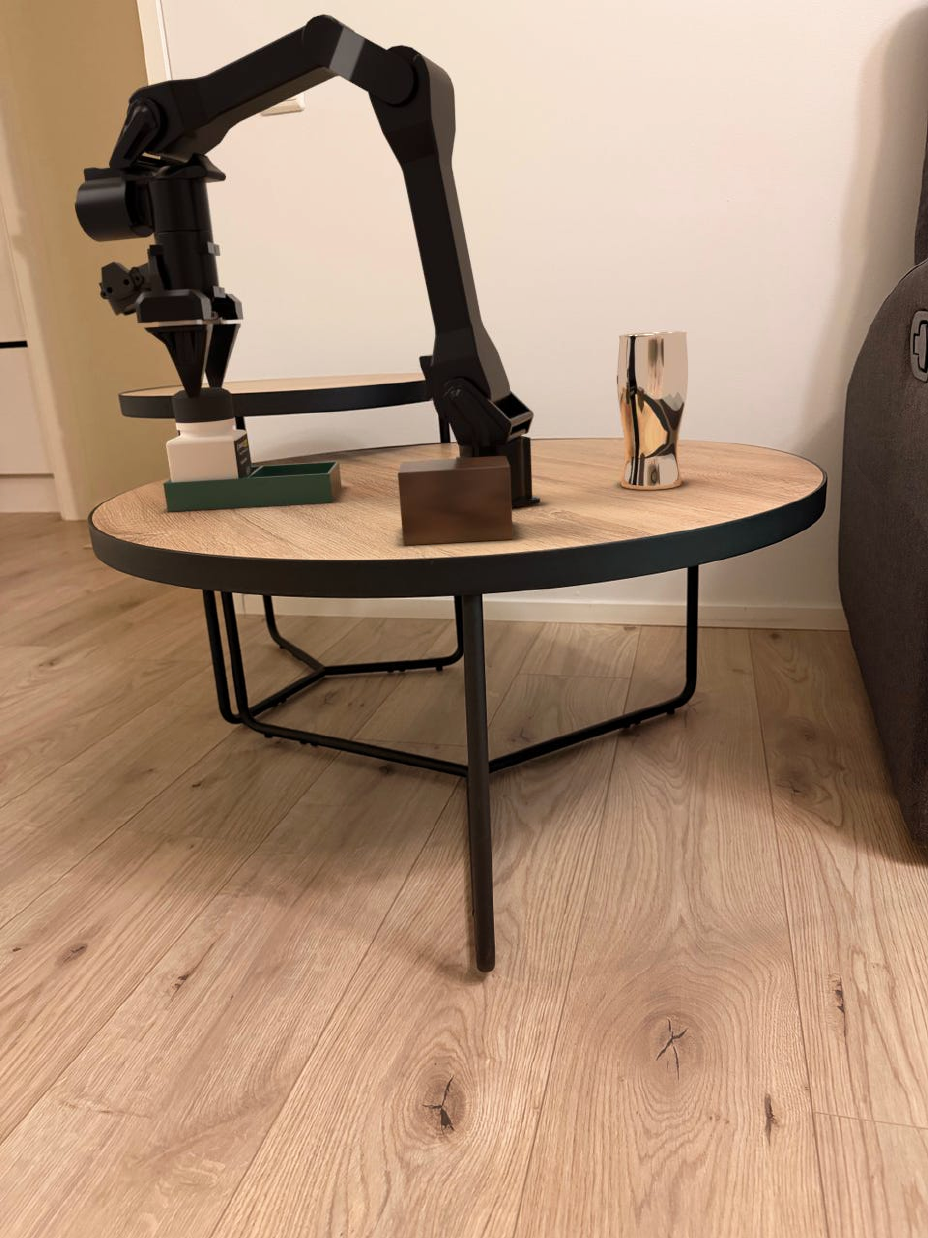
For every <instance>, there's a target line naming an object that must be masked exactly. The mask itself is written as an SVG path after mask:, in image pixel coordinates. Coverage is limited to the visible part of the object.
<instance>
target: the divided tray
mask: <svg viewBox="0 0 928 1238" xmlns="http://www.w3.org/2000/svg"><path fill="white" fill-rule="evenodd" d="M251 470H252V473H251V474H250V475H249V476H248V477H246V478H238V479H220V480H203V481H186V482H172V480H171V478H170V479H168V480H166V481H164V482H163V490H164V497H165V503H166V509H167V510H166V511H167V512H168V513H171V512H187V511H206V510H221V509H239V508H241V509H242V508H259V507H273V506H294V505H308V504H327V503H333V502H334V500H335V499H336V498H337V496H338V495H339V493H340V491H341V489H342V479H341V467H340V461H323V462H319V461H318V462H305V463H288V464H287V463H286V464H270V465H251Z"/></svg>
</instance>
